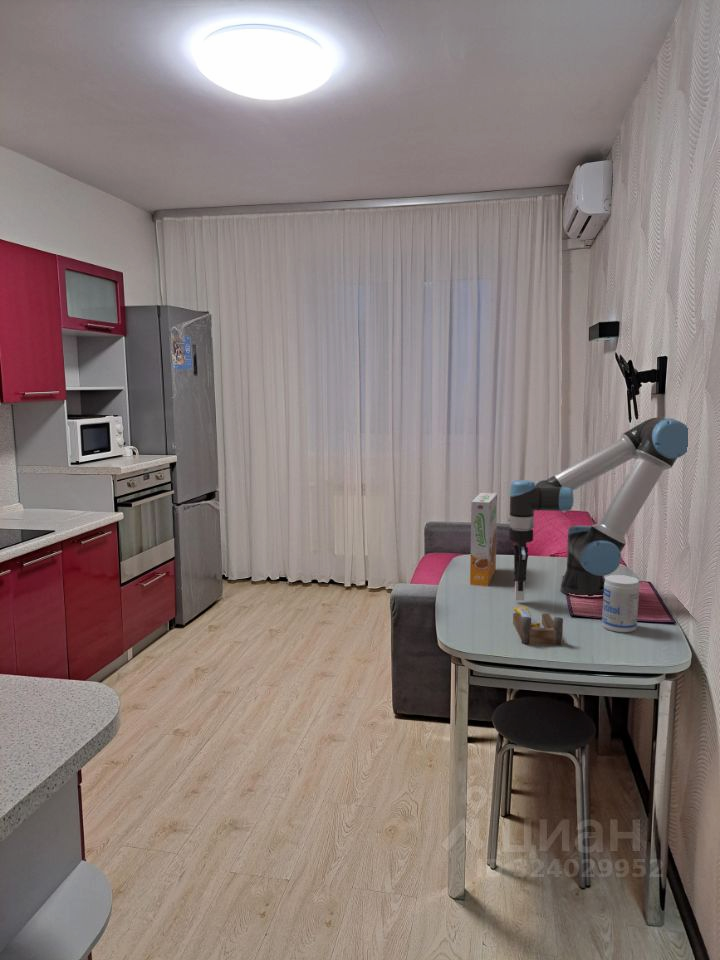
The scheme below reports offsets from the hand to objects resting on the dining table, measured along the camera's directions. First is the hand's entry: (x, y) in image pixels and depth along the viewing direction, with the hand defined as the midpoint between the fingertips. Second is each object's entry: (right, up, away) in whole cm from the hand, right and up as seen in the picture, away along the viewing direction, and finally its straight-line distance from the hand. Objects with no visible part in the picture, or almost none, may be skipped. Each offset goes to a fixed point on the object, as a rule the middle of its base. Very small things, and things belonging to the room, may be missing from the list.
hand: (519, 599), depth 226 cm
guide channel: (-2, -5, -27) cm, 28 cm away
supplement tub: (+24, -4, -24) cm, 34 cm away
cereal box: (-6, +3, +32) cm, 32 cm away
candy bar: (-1, -4, -15) cm, 15 cm away
